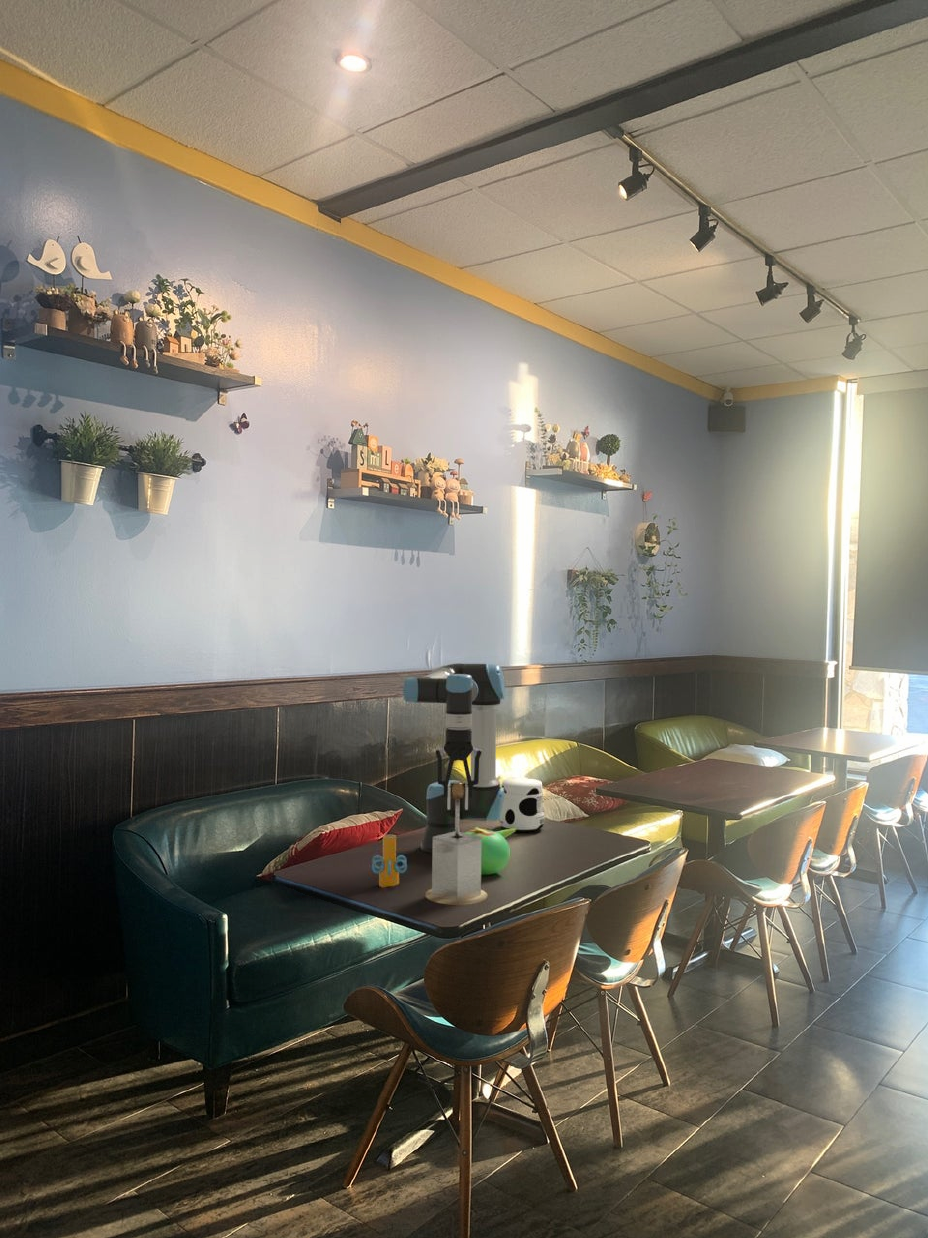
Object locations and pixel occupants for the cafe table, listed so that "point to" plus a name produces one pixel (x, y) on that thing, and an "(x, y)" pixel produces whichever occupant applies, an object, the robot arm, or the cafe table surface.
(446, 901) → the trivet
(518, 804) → the milk container
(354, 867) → the cafe table surface
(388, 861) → the cylinder
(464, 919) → the cafe table surface
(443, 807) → the robot arm
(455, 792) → the plunger
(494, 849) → the toy bird
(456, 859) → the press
